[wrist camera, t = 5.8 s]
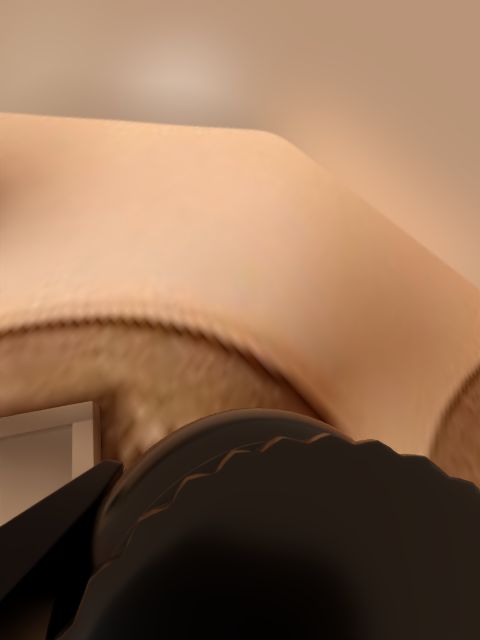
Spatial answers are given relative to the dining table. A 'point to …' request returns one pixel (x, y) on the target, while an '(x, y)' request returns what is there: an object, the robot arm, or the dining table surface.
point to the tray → (45, 453)
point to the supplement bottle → (275, 541)
